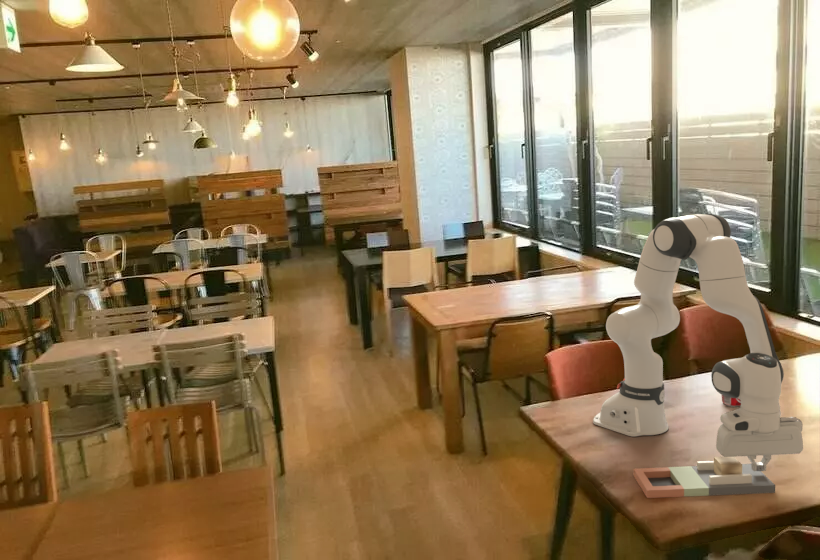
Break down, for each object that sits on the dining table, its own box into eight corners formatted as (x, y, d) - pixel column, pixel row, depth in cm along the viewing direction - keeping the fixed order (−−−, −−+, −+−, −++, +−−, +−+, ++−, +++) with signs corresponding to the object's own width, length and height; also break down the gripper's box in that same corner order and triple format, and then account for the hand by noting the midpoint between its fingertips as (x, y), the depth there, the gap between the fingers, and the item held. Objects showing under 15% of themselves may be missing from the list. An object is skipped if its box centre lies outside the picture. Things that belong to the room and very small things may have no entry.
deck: (752, 470, 178) (753, 463, 178) (775, 492, 167) (775, 485, 166) (633, 475, 180) (633, 468, 180) (647, 497, 168) (647, 490, 168)
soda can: (746, 402, 225) (747, 367, 223) (743, 409, 219) (744, 373, 217) (723, 399, 229) (723, 365, 227) (719, 406, 223) (720, 371, 221)
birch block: (733, 470, 175) (733, 456, 174) (742, 479, 170) (742, 464, 169) (713, 471, 175) (713, 456, 175) (721, 480, 170) (721, 465, 170)
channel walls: (736, 466, 177) (736, 459, 177) (751, 483, 168) (751, 475, 168) (697, 468, 177) (697, 461, 177) (710, 484, 169) (710, 477, 168)
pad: (690, 473, 179) (691, 466, 179) (708, 495, 167) (708, 487, 167) (667, 474, 180) (667, 467, 179) (684, 496, 168) (684, 488, 167)
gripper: (796, 411, 172) (794, 462, 175) (713, 415, 173) (713, 466, 176) (809, 421, 166) (807, 473, 169) (724, 425, 167) (723, 477, 170)
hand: (758, 470), depth 172 cm, fingers closed
